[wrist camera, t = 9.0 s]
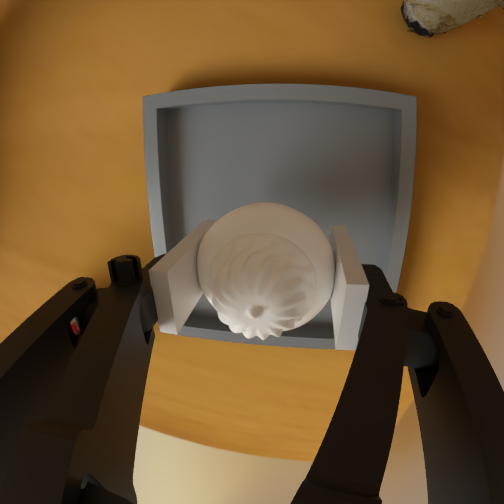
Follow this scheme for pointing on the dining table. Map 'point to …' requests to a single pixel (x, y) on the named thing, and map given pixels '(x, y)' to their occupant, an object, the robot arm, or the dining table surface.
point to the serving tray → (282, 174)
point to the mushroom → (443, 14)
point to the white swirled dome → (265, 269)
